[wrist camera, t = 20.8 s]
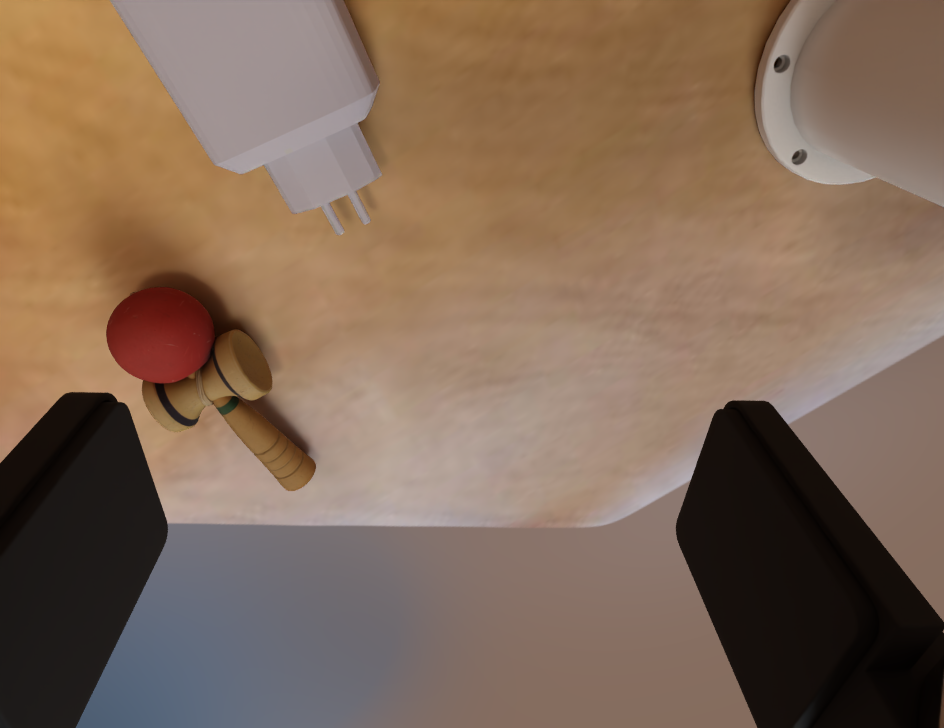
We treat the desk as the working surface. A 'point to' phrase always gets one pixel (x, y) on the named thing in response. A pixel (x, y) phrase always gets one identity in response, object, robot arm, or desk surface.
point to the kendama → (200, 374)
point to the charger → (268, 89)
